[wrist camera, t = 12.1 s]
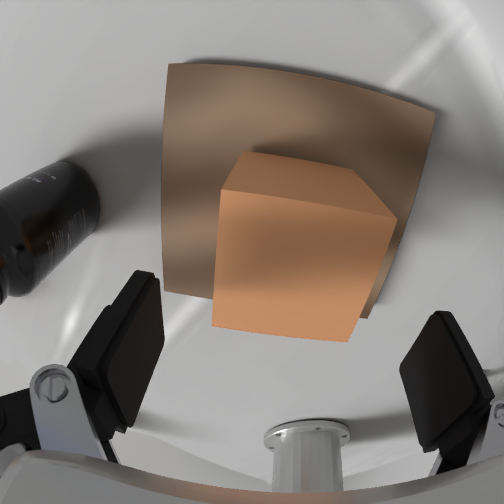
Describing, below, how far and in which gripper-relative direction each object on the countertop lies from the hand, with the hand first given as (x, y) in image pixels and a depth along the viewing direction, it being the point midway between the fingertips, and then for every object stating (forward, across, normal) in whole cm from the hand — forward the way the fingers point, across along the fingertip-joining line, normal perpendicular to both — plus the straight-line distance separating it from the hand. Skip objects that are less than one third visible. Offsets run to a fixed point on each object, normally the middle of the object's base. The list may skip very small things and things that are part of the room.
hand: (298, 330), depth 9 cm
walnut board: (+11, 0, 0) cm, 11 cm away
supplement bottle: (+12, +17, +2) cm, 21 cm away
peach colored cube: (+9, 0, 0) cm, 9 cm away
